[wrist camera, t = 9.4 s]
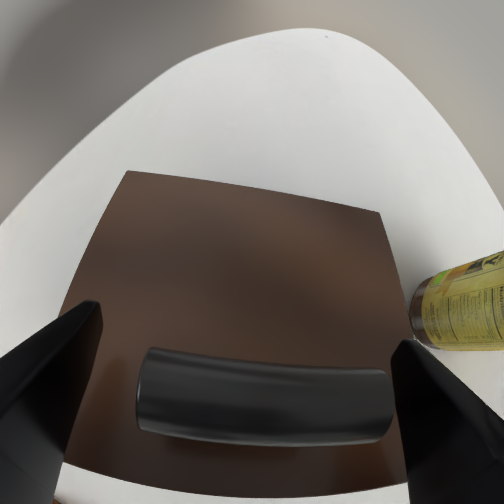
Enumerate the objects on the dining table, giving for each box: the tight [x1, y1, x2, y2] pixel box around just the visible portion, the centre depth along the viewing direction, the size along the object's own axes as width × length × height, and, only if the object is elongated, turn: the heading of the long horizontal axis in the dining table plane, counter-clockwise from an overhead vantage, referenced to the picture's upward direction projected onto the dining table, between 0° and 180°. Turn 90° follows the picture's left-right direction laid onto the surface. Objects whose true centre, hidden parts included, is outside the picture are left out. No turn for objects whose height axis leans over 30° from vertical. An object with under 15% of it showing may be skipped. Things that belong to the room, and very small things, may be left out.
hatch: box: [58, 171, 413, 498], centre depth 10 cm, size 13×14×5 cm
